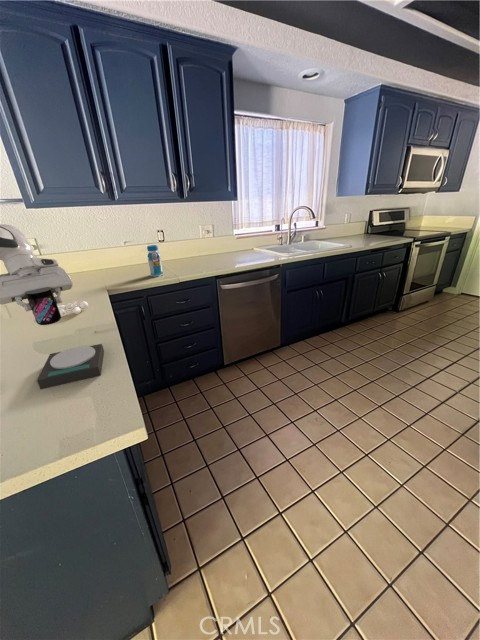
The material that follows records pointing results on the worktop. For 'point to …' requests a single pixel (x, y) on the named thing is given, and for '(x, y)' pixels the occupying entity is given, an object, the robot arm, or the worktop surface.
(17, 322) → the worktop surface
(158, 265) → the beverage bottle
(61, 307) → the white bead necklace
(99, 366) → the scale
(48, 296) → the supplement container
